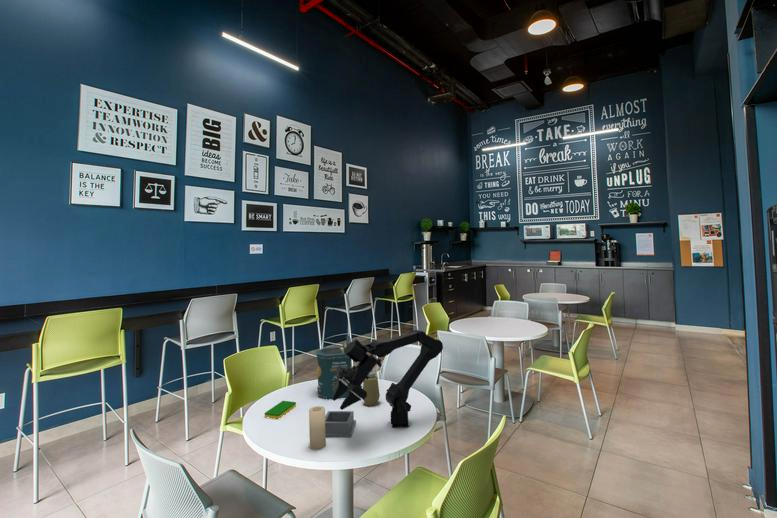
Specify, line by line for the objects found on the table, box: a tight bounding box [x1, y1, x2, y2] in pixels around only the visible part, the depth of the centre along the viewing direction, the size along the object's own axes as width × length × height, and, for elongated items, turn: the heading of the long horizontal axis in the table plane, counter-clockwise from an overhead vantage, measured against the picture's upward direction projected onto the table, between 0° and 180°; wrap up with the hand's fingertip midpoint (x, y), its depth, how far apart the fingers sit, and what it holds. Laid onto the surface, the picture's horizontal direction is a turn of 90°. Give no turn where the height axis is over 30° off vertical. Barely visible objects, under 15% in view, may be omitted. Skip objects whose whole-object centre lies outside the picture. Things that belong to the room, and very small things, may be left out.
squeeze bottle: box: [362, 368, 381, 407], centre depth 164 cm, size 8×8×18 cm
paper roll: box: [308, 405, 327, 451], centre depth 128 cm, size 6×6×13 cm
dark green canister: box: [316, 332, 352, 401], centre depth 178 cm, size 16×16×28 cm
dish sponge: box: [264, 400, 297, 420], centre depth 158 cm, size 7×14×2 cm, turn 163°
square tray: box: [325, 410, 357, 438], centre depth 140 cm, size 12×12×5 cm
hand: (336, 404), depth 132 cm, fingers open, 9 cm apart
